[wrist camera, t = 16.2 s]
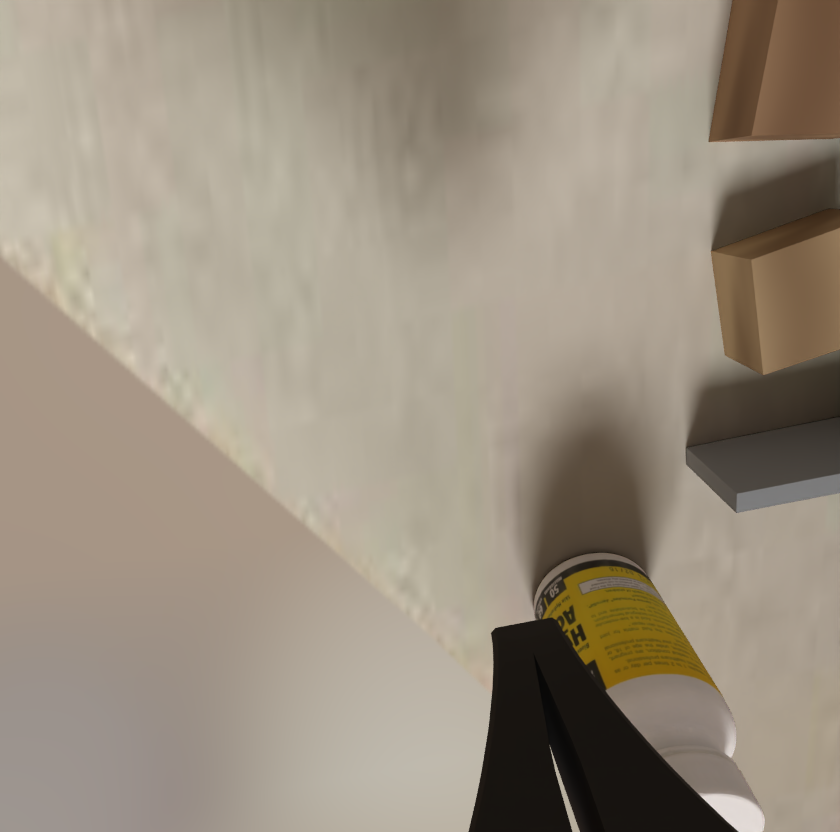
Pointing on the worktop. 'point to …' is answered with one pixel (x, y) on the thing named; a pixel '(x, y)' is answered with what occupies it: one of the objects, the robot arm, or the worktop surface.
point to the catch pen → (771, 465)
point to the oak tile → (781, 293)
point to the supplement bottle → (651, 674)
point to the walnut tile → (779, 72)
